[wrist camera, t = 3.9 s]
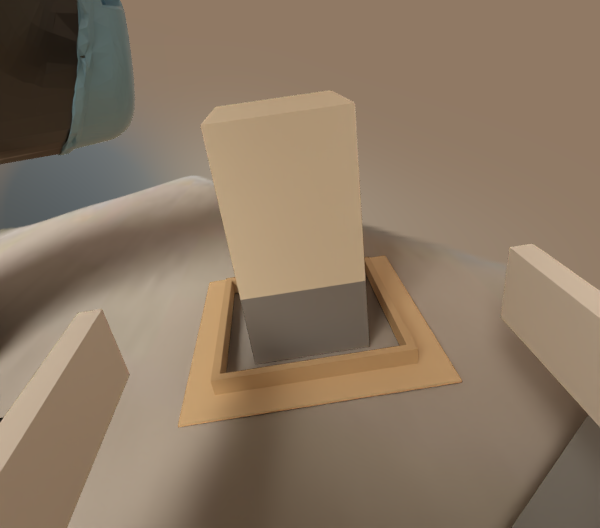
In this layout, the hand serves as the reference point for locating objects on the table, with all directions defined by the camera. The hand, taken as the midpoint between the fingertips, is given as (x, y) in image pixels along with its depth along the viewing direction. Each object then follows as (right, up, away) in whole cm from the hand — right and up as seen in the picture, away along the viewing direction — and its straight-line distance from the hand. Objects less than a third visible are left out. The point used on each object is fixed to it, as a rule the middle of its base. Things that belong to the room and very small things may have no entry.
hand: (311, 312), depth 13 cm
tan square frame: (0, -2, +10) cm, 11 cm away
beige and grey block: (0, -2, +10) cm, 11 cm away
